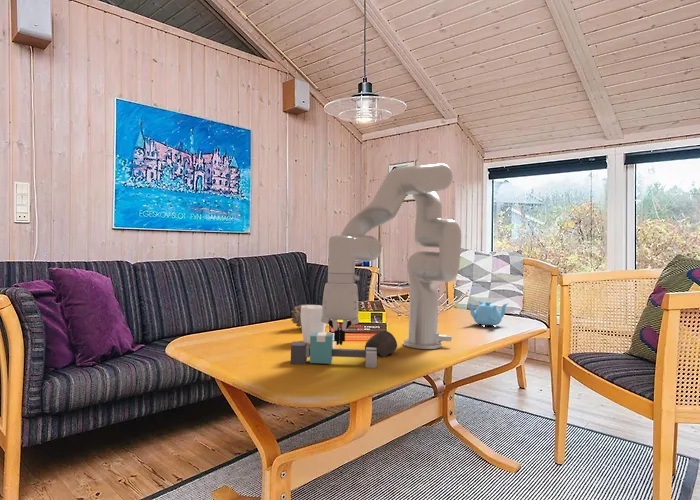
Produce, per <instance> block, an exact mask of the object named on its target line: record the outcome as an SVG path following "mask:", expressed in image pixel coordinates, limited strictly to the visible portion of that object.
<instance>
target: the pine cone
mask: <svg viewBox="0 0 700 500" xmlns="http://www.w3.org/2000/svg"><path fill="white" fill-rule="evenodd" d="M304 305H310V304H309V303H306V304H300V305H297V306H295V307H294V309H293V310H291V313H292V314H291V315H290V316H291V317H292V319H291V322H292V324H296V327H298V328H301V329H302V326H301V317H300V314H301V306H304Z"/></svg>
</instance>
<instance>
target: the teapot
mask: <svg viewBox="0 0 700 500" xmlns="http://www.w3.org/2000/svg"><path fill="white" fill-rule="evenodd" d="M478 302H479V305H478V306H477V307H476V309H475V308H474V304H473V303H471V302H468V304H469V306H470V316H471V317H472V318H473V321H474V323H477V324H478V323H479V324H482V325H486V326H492V325H497V326H498V325H499V324H500V323H501V322H502V320H503V318H504V316H505V314H506V307H507V306H508V305H509V303H507V302H506V303H504V304H503V305H502V306H501V310H500V309H499V308H498V307H497V306H498V305H495V304H491V301H485V302H484V303H483V301H482V300H481V299H478ZM482 325H481V326H482Z"/></svg>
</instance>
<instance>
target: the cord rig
mask: <svg viewBox="0 0 700 500" xmlns="http://www.w3.org/2000/svg"><path fill="white" fill-rule="evenodd" d="M332 356H333V358H334V357H336V358H337V357H341V358H364V359H365V368H368V369H376V368H377V365H378V364H377V361H378V358H377V357H378V354H377V349H376V348H371V347H366V350H365V349H357V348H356V349H355V348H354V349H353V348H333V349H332ZM308 358H310V345H308V343H307V342H303V341H293V342H292V343H291V344H290V365H306V363H307V360H308Z"/></svg>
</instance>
